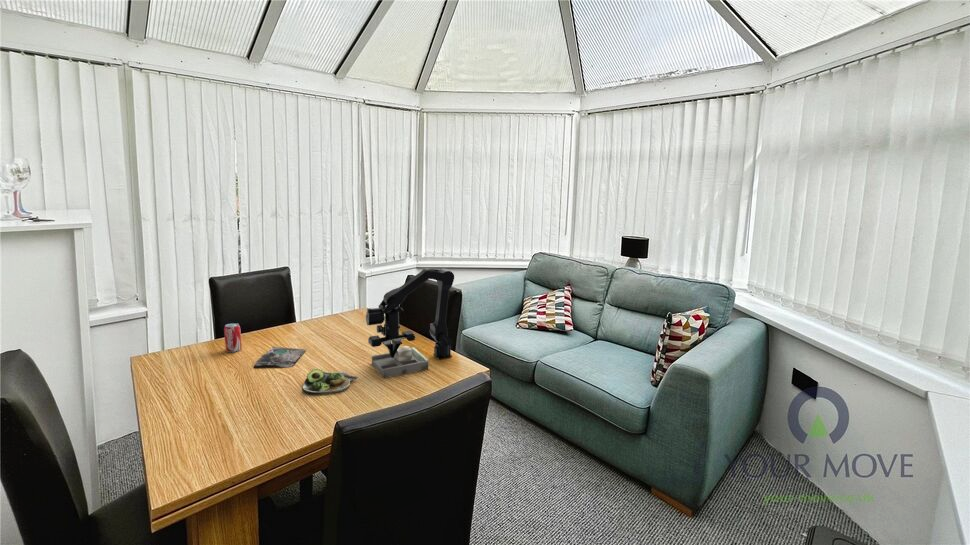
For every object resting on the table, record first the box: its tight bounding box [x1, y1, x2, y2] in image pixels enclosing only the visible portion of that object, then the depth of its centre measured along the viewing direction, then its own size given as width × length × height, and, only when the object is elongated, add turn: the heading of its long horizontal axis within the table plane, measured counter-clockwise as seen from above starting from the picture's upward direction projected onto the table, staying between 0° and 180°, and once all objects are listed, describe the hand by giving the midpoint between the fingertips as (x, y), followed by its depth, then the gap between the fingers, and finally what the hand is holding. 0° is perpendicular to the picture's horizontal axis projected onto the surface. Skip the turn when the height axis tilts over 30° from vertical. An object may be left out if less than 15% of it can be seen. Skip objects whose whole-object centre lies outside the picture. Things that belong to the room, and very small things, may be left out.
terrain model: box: [253, 346, 308, 369], centre depth 188 cm, size 20×15×3 cm
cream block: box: [395, 345, 412, 361], centre depth 187 cm, size 6×5×4 cm
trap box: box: [371, 347, 429, 379], centre depth 183 cm, size 19×16×4 cm
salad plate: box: [302, 368, 359, 396], centre depth 166 cm, size 19×18×5 cm
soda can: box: [223, 322, 243, 353], centre depth 193 cm, size 6×6×12 cm
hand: (392, 357), depth 185 cm, fingers closed
